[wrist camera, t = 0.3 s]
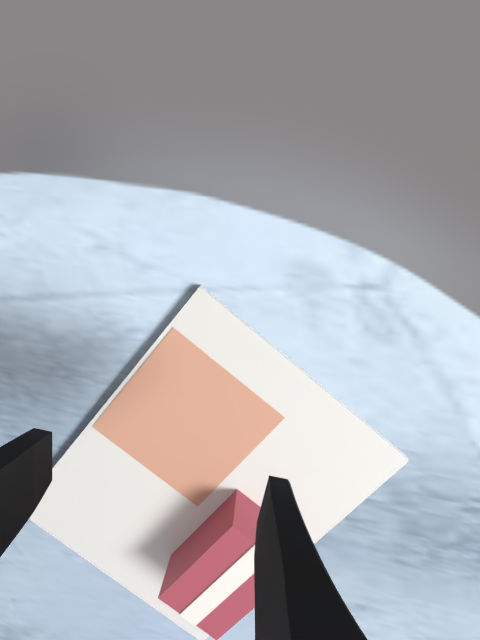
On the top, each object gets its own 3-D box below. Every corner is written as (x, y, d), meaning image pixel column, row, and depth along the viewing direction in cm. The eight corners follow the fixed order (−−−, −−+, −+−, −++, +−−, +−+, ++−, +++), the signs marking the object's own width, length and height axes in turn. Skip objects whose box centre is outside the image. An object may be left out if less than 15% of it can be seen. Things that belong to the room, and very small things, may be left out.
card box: (222, 592, 25) (216, 641, 22) (170, 554, 24) (157, 599, 22) (291, 530, 23) (294, 574, 20) (237, 488, 23) (232, 527, 20)
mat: (203, 633, 27) (201, 643, 26) (23, 504, 25) (17, 512, 25) (405, 454, 22) (409, 461, 22) (201, 285, 21) (199, 286, 20)
